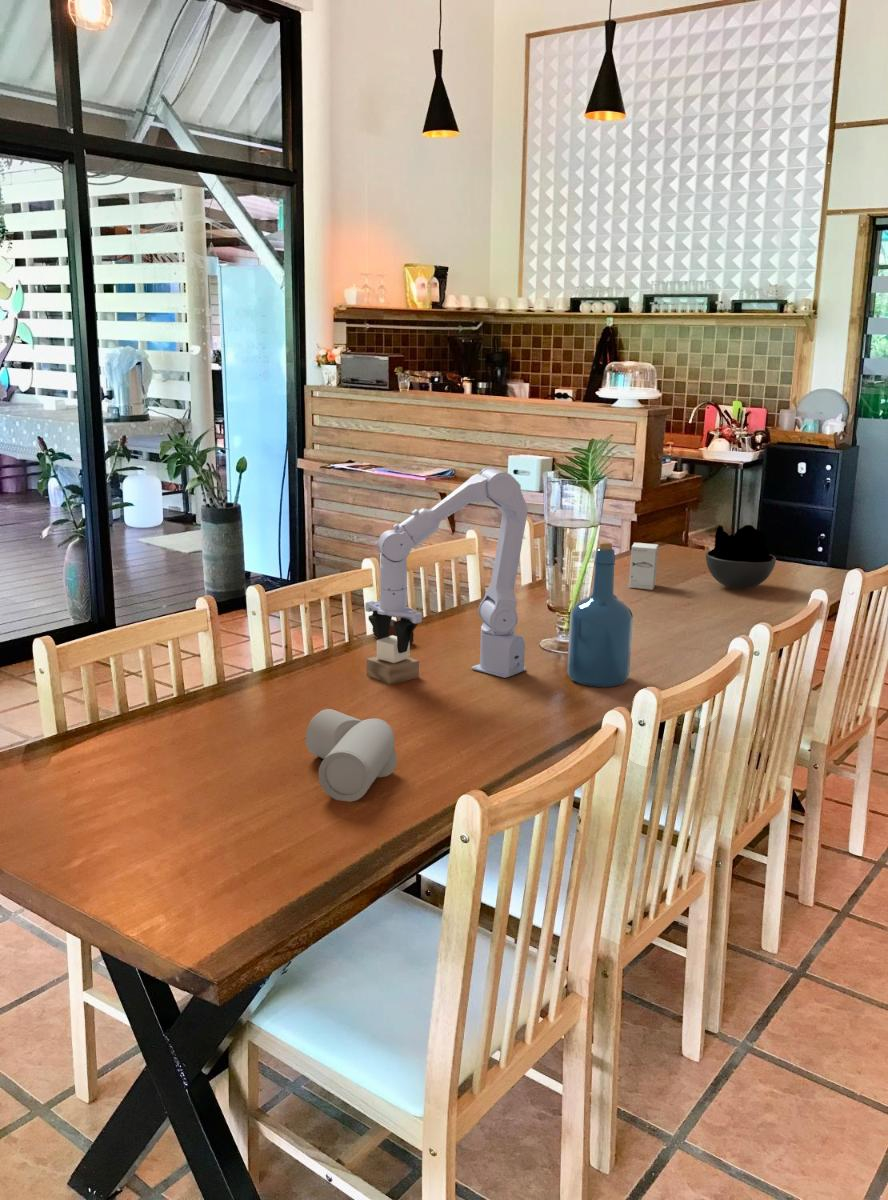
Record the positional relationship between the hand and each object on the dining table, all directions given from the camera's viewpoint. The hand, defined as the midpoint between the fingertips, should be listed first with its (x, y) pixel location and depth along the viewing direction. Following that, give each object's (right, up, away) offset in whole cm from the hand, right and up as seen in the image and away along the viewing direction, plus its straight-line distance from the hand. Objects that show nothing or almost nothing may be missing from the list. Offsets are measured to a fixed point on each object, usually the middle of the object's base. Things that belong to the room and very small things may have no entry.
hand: (392, 649), depth 221 cm
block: (0, -2, +1) cm, 2 cm away
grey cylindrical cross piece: (-5, -19, -49) cm, 53 cm away
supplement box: (+70, +14, +87) cm, 112 cm away
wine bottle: (+44, -7, +3) cm, 45 cm away
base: (0, -6, +2) cm, 6 cm away
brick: (-1, 0, +28) cm, 28 cm away
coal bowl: (+98, +14, +87) cm, 132 cm away
